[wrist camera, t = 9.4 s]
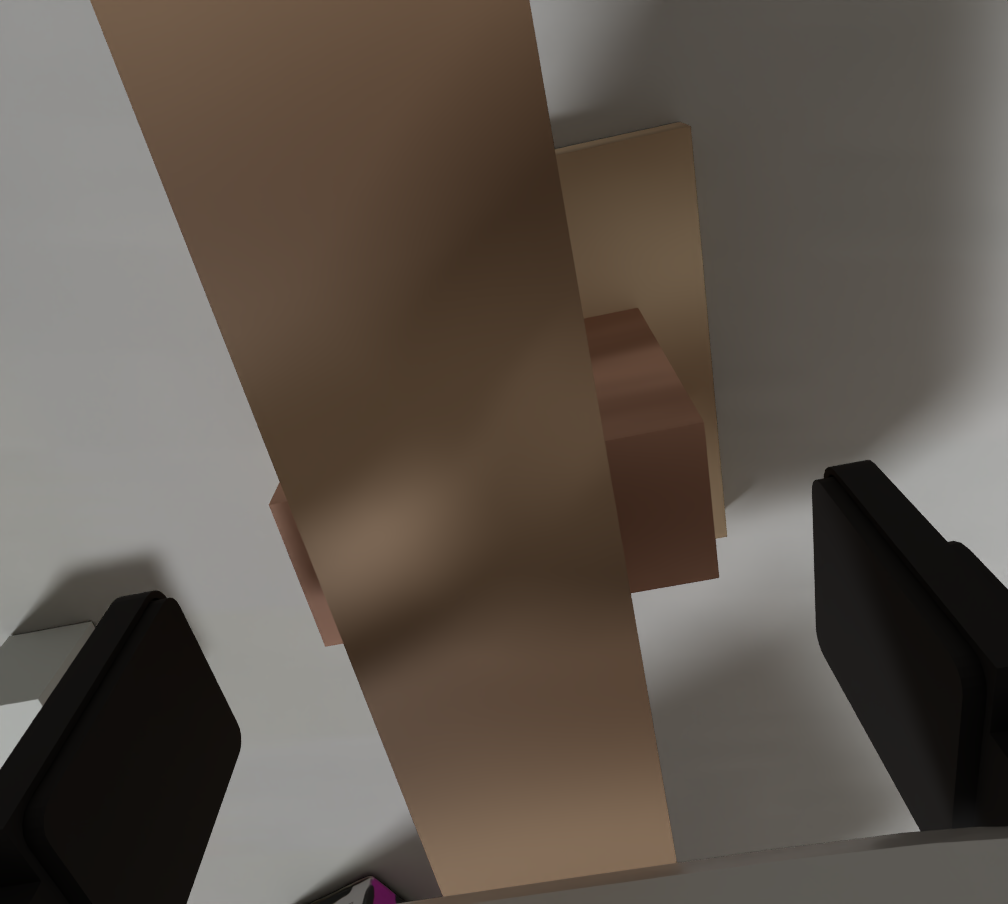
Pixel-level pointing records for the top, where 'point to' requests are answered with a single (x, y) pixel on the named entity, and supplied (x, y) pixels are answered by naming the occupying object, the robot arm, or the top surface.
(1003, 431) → the top surface
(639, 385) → the fulcrum
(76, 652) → the grey cubes
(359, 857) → the top surface
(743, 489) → the top surface
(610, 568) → the walnut bar
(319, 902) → the candy bar box
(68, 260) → the top surface
